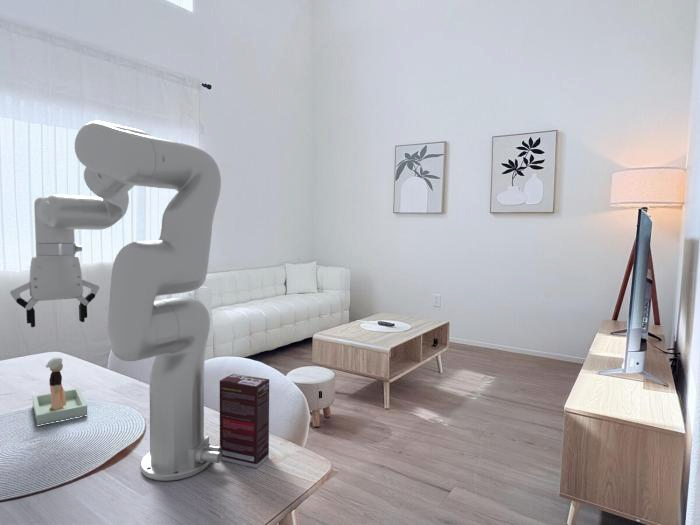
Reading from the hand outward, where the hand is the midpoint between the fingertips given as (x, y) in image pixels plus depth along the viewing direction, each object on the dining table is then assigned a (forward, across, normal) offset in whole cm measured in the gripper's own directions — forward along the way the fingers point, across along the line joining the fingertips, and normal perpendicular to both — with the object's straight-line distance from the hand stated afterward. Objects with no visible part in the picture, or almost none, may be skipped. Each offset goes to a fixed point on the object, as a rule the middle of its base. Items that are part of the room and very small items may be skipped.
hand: (58, 323), depth 102 cm
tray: (+21, 0, -1) cm, 21 cm away
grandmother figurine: (+21, +1, 0) cm, 21 cm away
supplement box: (+22, -26, +45) cm, 56 cm away
